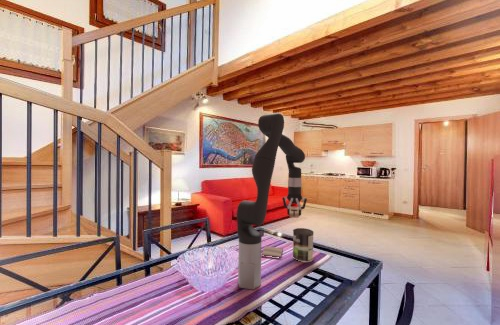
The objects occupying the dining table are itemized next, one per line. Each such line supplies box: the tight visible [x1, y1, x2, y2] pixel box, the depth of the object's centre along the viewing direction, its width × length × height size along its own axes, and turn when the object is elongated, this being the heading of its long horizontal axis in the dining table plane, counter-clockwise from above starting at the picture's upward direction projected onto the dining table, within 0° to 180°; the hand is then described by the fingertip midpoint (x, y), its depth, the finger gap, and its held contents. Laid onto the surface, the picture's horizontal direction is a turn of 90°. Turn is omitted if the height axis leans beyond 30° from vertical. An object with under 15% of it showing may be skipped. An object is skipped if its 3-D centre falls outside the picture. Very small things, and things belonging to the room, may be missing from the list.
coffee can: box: [292, 227, 314, 263], centre depth 120 cm, size 10×10×14 cm
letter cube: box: [288, 206, 300, 219], centre depth 132 cm, size 5×5×5 cm
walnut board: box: [261, 246, 284, 259], centre depth 126 cm, size 12×10×1 cm
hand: (294, 215), depth 132 cm, fingers closed on letter cube, 5 cm apart
